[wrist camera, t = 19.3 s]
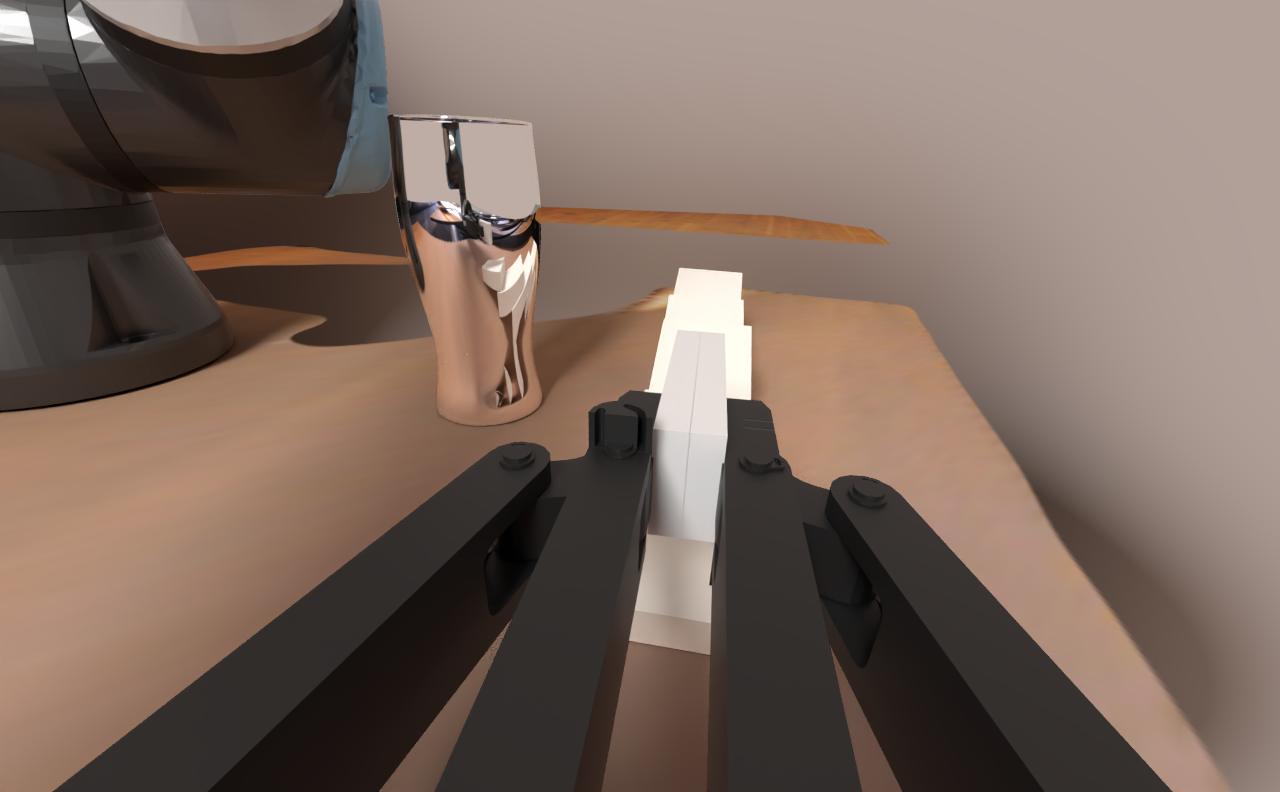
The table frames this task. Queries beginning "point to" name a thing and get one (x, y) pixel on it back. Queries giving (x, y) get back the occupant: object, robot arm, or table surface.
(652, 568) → the tile
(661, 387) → the tile
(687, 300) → the tile
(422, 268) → the silver metal tumbler
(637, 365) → the table surface
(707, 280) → the tile
